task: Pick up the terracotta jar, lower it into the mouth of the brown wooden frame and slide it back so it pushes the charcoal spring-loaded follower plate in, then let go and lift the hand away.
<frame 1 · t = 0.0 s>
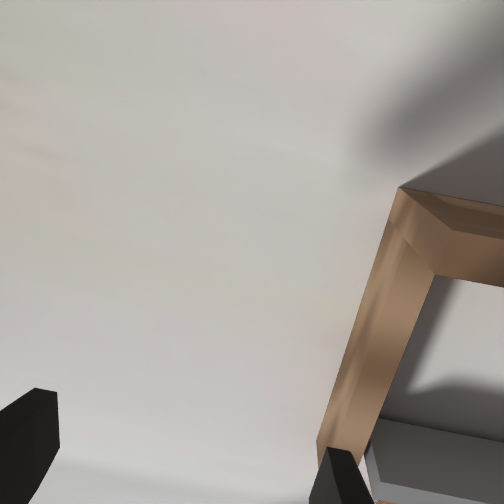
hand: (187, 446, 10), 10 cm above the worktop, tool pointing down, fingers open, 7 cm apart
brown wooden frame: (491, 361, 20), on the worktop
follower: (472, 474, 19), point 2 cm above the worktop, slide at 0.0 cm
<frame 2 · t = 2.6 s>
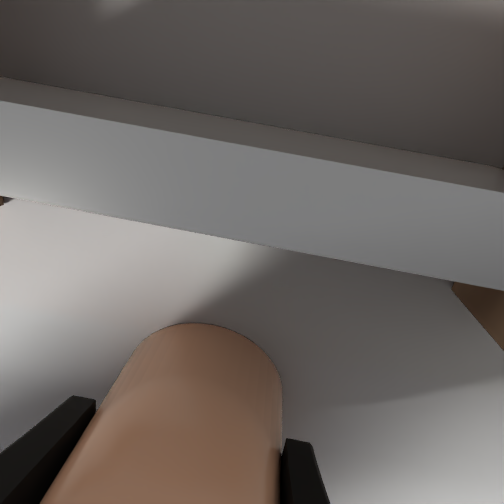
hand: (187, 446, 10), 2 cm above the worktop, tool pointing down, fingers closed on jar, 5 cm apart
jar: (203, 390, 12), on the worktop, touching gripper
follower: (221, 162, 6), point 3 cm above the worktop, slide at 0.0 cm
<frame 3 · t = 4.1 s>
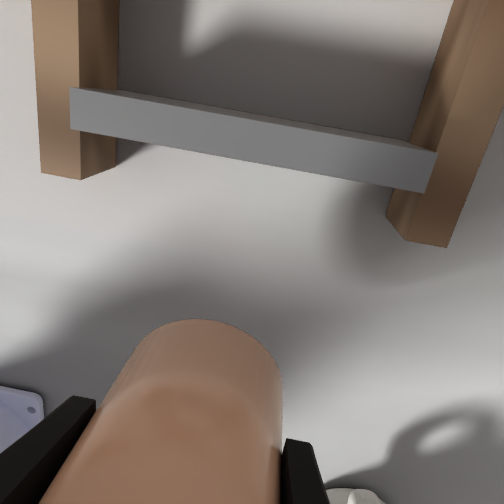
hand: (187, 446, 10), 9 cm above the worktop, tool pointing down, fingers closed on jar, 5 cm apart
cup: (345, 496, 23), on the worktop
jar: (204, 386, 12), point 7 cm above the worktop, touching gripper
follower: (254, 135, 13), point 3 cm above the worktop, slide at 0.0 cm
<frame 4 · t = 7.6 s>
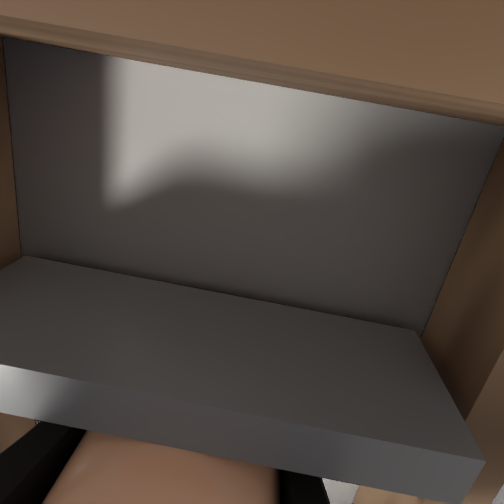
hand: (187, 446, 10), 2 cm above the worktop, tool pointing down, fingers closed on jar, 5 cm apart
jar: (204, 388, 12), on the worktop, touching follower, gripper
brown wooden frame: (216, 315, 11), on the worktop
follower: (199, 355, 9), point 2 cm above the worktop, slide at 5.9 cm, touching jar
when the fingers open (2 cm above the worktop, at t = 8.7 s): jar stays where it is, on the worktop.
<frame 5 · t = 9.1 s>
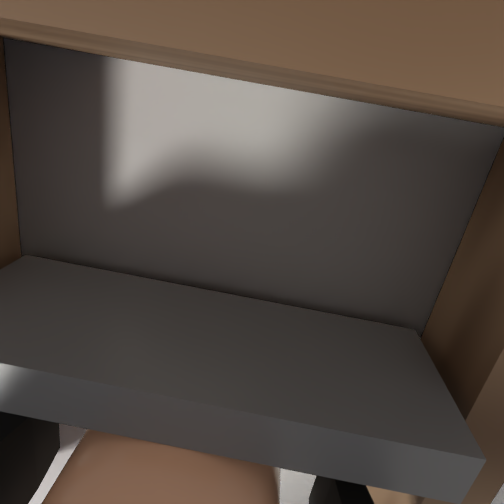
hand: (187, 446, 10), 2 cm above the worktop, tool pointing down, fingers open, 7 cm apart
jar: (206, 381, 12), on the worktop
brown wooden frame: (216, 316, 11), on the worktop
follower: (199, 354, 9), point 2 cm above the worktop, slide at 5.9 cm
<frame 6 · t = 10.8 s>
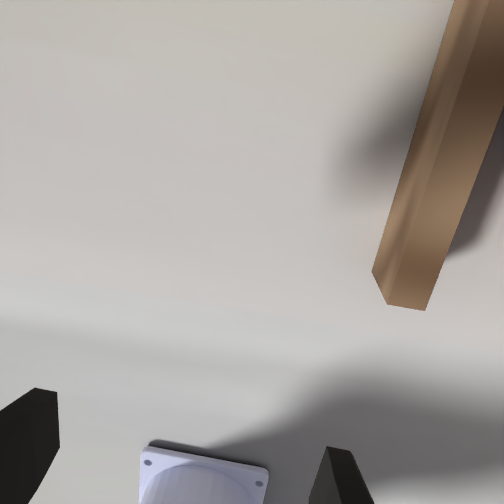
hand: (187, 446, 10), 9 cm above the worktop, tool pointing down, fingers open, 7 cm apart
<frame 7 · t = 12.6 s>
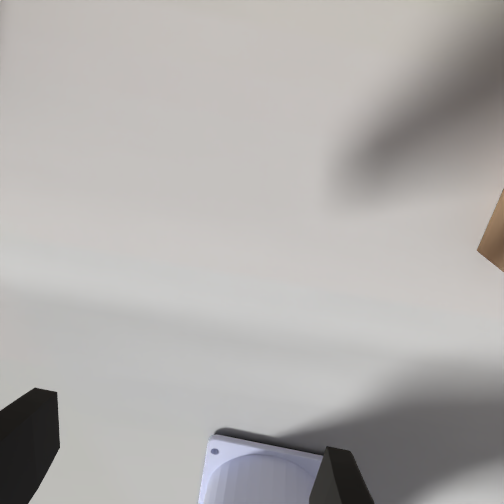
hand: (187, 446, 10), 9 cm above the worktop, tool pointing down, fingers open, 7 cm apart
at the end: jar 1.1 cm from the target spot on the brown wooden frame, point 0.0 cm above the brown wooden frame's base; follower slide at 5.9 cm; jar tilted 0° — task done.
